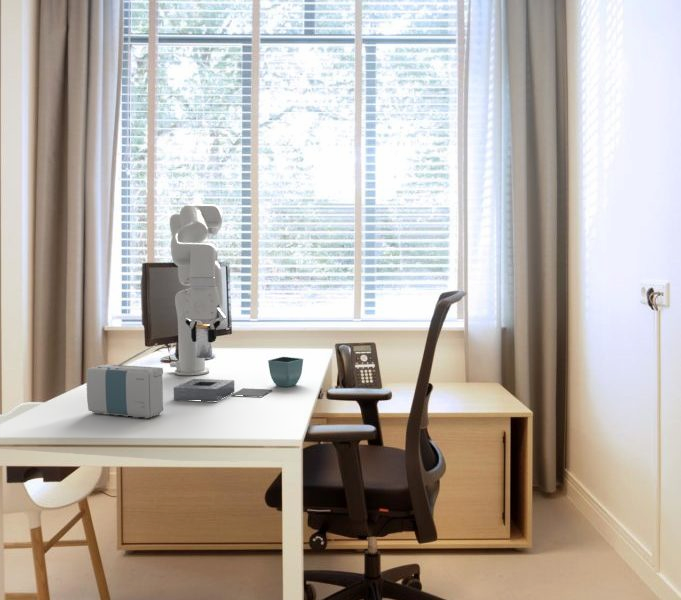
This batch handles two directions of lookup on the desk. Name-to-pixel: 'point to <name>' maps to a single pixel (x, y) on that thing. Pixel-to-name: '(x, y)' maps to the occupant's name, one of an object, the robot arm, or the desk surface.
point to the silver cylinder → (203, 341)
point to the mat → (252, 392)
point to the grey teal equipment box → (125, 389)
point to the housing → (204, 390)
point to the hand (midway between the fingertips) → (203, 340)
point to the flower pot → (285, 370)
